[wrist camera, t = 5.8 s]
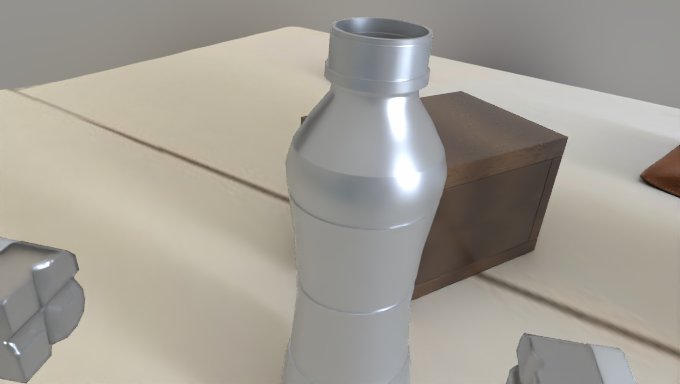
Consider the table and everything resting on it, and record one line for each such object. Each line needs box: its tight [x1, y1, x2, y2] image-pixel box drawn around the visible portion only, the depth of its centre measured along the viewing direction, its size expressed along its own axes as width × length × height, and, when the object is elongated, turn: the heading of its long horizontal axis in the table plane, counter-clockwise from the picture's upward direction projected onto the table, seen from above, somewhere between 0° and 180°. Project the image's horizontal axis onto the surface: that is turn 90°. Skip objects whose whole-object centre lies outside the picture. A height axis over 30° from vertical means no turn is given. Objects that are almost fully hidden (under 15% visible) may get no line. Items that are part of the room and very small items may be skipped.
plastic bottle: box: [282, 17, 447, 384], centre depth 24 cm, size 6×7×20 cm
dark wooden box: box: [301, 91, 568, 300], centre depth 41 cm, size 16×11×10 cm
